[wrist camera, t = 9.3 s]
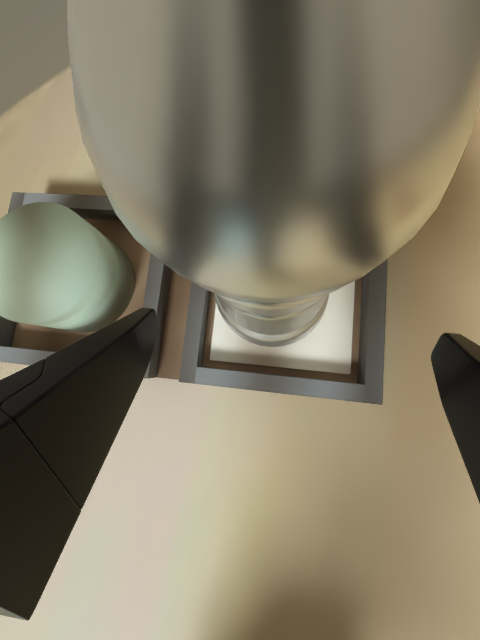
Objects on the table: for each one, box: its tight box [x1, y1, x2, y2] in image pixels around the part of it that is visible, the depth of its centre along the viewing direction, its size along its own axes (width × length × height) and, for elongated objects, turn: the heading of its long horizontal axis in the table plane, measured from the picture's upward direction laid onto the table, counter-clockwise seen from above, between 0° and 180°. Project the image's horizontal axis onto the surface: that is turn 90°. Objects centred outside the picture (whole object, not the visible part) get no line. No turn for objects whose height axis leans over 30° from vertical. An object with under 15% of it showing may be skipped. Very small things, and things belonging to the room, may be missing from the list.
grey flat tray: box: [0, 192, 387, 405], centre depth 19 cm, size 26×12×6 cm, turn 84°
